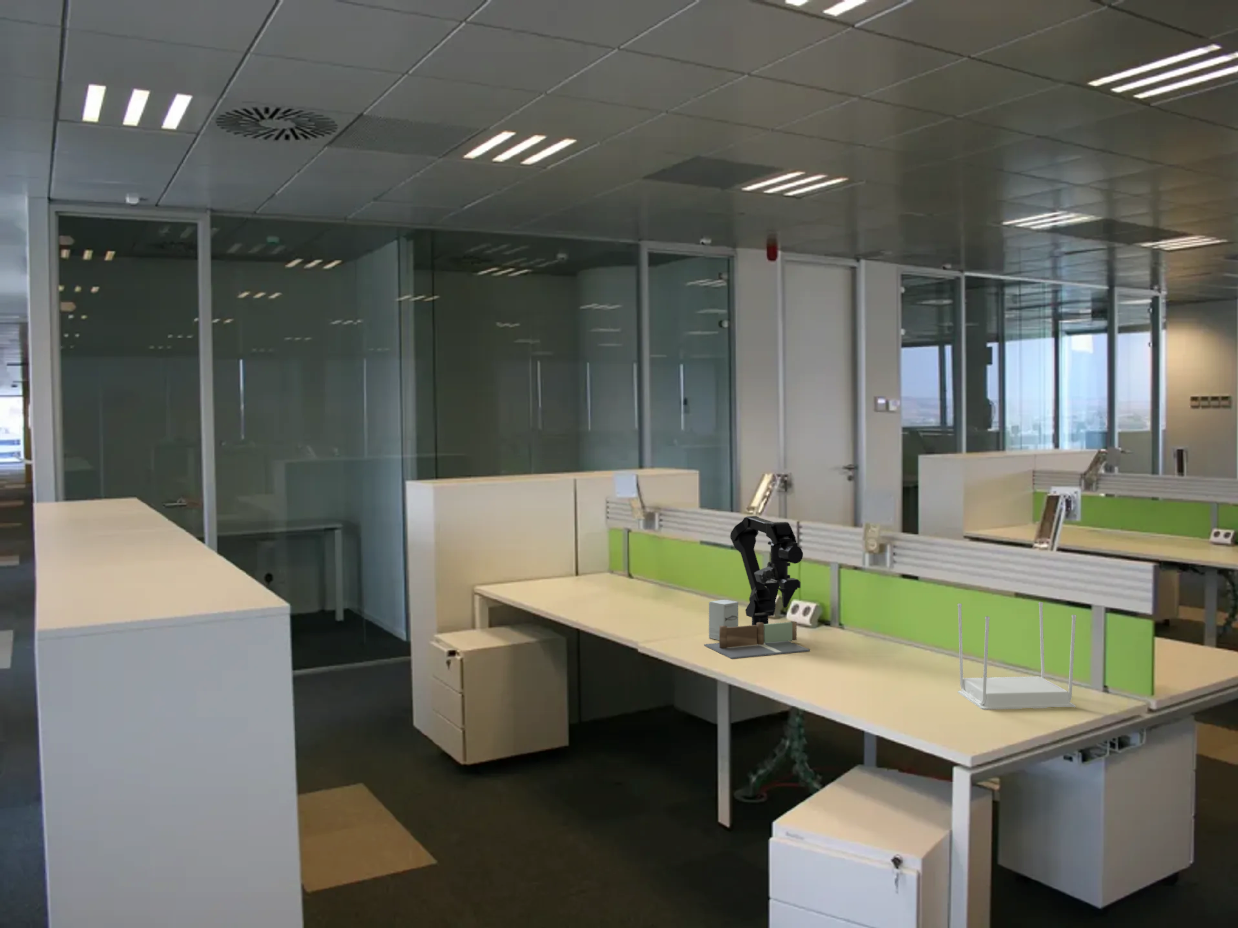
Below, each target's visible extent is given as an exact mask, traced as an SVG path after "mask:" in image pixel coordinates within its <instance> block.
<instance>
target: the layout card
mask: <svg viewBox="0 0 1238 928" xmlns="http://www.w3.org/2000/svg"><path fill="white" fill-rule="evenodd" d="M703 645H704V647H706V648H708V649H711V650H712V651H715V652H716V653H719V654H721V655H722V656H724V657H727V658H729V659H731V660H733V659H745V658H754V657H763V656H774V655H784V654H793V653H804V652H810V651H811V649H809V648H806V647H804V646H802V645H799V644H797V643H794V642H793V641H781V642H771V643H764V644H763V645H758V644H757V645H748V646H738V647H727V648H724V649H722V648H719V642H716V643H715V642H714V643H712V642H711V643H704V644H703Z"/></svg>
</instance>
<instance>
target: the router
mask: <svg viewBox="0 0 1238 928" xmlns="http://www.w3.org/2000/svg"><path fill="white" fill-rule="evenodd" d="M962 605H963V604H962V603H957V615H958V616H957V617H958V645H959V646H958V650H959V654H958V656H959V686H960V689H961V690H957V694H958V695H960V696H962V697H963V698H964V699H966V700H968V701H969V702H970V703H972V704H973V705H975V706H976V707H977V708H979V709H980V710H984V711H985V710H986V711H988V710H990V711H991V710H1022V708H1033V709H1048V708H1047V707H1074V708H1076V704H1074V703H1072V702H1071V701H1072V697H1073V696H1072V695H1073V680H1074V662H1075V661H1074V660H1075V639H1076V638H1075V637H1076V622H1077V621H1076V619H1077V615H1076V614H1071V635H1070V651H1069V652H1070V653H1069V673H1068V674H1069V675H1068V676H1069V677H1068V690H1066V689H1064V688H1063V687H1060V686H1059V685H1057V684H1055V683H1054V682H1051V681H1049V680H1047V679H1046V678H1045V676H1046V675H1045V646H1044V643H1045V642H1044V617H1043V615H1044V614H1043V613H1044V611H1043V609H1044V608H1043V607H1044V606H1043V605H1044V602H1042V601H1039V602H1038V606H1039V607H1038V609H1039V640H1040V643H1039V646H1040V671H1041V672H1040V674H1041V676H1037V675H1036V676H1006V677H1005V676H1000V677H999V676H997V677H994V676H993V677H992V676H991V677H987V675H988V657H989V656H988V655H989V634H990V633H989V632H990V630H989V629H990V619H991V618H990V616H988V615H987V616H984V620H985V623H984V624H985V628H984V629H985V631H984V651H983V654H984V655H983V672H982V673H983V676H982V677H964V664H963V663H964V660H963V621H962V615H963V613H962Z"/></svg>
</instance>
